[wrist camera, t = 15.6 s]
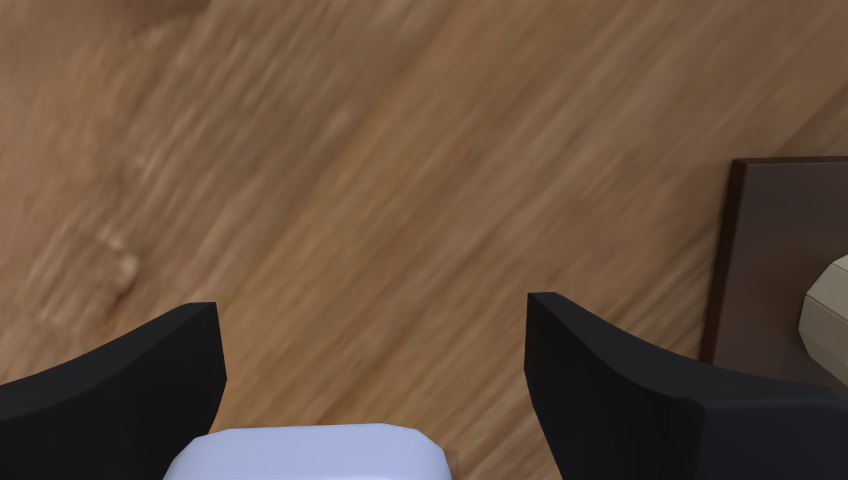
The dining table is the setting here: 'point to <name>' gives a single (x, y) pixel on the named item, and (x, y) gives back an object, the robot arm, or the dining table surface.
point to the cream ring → (828, 320)
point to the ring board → (775, 264)
